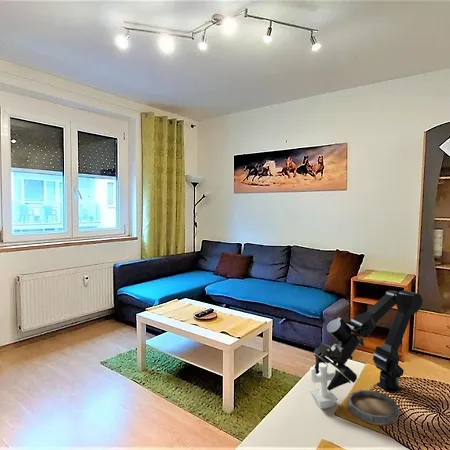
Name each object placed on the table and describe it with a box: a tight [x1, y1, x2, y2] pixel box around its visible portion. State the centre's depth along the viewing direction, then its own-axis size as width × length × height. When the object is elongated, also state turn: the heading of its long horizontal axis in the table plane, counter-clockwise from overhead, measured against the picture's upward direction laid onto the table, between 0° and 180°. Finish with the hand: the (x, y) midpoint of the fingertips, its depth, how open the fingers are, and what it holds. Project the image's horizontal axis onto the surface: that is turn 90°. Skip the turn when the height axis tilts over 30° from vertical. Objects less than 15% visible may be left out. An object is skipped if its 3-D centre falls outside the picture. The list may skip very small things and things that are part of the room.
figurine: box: [309, 363, 339, 410], centre depth 119 cm, size 7×9×15 cm
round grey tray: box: [347, 389, 400, 423], centre depth 115 cm, size 16×16×2 cm
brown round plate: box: [348, 396, 400, 426], centre depth 115 cm, size 16×16×1 cm
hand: (320, 383), depth 118 cm, fingers open, 9 cm apart
